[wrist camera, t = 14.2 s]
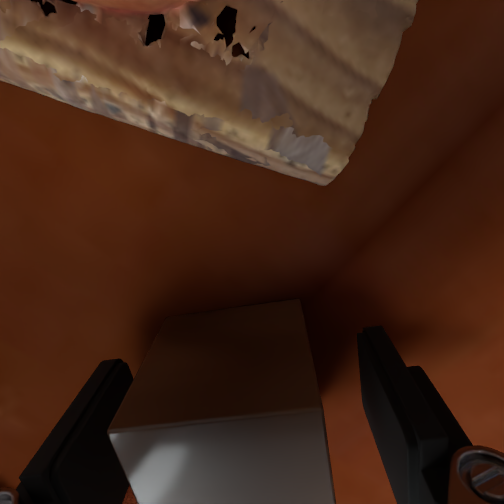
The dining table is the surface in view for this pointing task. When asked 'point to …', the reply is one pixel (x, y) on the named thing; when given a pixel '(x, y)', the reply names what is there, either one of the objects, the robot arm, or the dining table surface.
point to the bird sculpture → (216, 71)
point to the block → (226, 412)
